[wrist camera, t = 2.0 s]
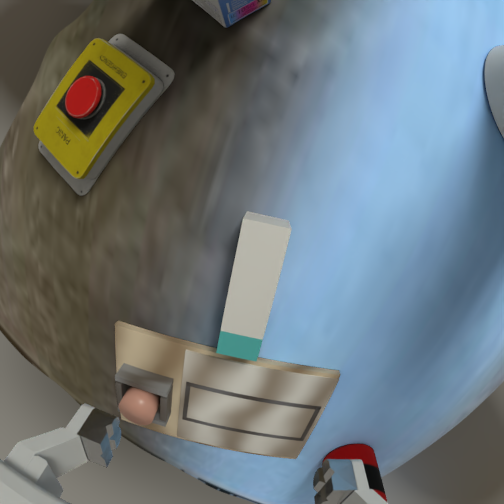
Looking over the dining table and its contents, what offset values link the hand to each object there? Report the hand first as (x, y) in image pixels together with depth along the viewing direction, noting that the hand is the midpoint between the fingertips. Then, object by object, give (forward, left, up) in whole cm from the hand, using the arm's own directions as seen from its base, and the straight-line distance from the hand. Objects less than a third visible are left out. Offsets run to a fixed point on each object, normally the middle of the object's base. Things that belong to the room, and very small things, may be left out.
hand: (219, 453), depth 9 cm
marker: (0, 0, -18) cm, 18 cm away
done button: (+9, +16, -16) cm, 24 cm away
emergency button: (+18, -13, -19) cm, 29 cm away
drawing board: (+1, +16, -18) cm, 24 cm away
